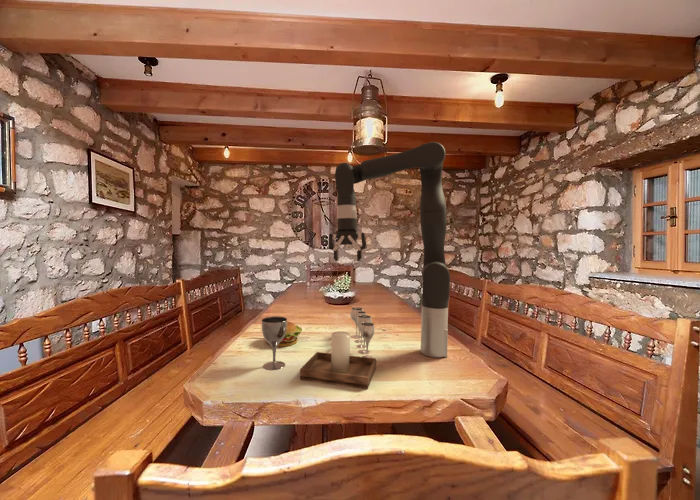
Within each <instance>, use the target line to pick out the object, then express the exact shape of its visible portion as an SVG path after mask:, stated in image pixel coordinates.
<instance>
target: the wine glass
mask: <svg viewBox="0 0 700 500" xmlns="http://www.w3.org/2000/svg"><path fill="white" fill-rule="evenodd" d="M287 321H288V318H287V317H286V316H279V315H277V316H275V315H273V316H267V317H264V318H262V319H261V332H262V336H263V339H264V340H265V341H266V342H267V343H269V344H270V345H269V344H268V345H269V346H270V347H271V350H272V361H268V362H267V361H266V362H265V363H263V365H262V369H264V370H266V371H278V370H281V369H283V368H285V367H286V363H285V362H284V361H281V360H277V359H276V353H277V348H278V347H277V346H278V344H279V343H280V342H281V341H282V339H283V338H284V337H285V334H286V329H287Z"/></svg>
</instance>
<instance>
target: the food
mask: <svg viewBox="0 0 700 500" xmlns="http://www.w3.org/2000/svg"><path fill="white" fill-rule="evenodd" d="M302 332H303V329H302V327H299V326H298V325H296V323H293V322H291V321H288V320H287V329H286V334H285V337H284V338H283V339H282V341H281V342H280V343H279V344H278V346H277V348H278V347H280V348H281V347H289V346H293V345H295V344H297V342H298V339H299V336H300V335H301V333H302ZM267 343H268V342H267ZM268 345H269V346H271V345H270V344H269V343H268Z"/></svg>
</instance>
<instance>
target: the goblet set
mask: <svg viewBox="0 0 700 500" xmlns="http://www.w3.org/2000/svg"><path fill="white" fill-rule="evenodd" d="M349 315H350V319H351V320H352V321H353V322H354V324H355V328H356V331H355V333H356V334H354V335H350V338H352V339H355V340H353V341H354V343H355V344H357V345H356V348H357V349H359V350H358V351H357V353H358V355H359V354H360V355H362V356H361V357H367V358H374V357H373V356H371V355H370V353H371V351H370V350H369V344H370V341H371V340H372V339H373V336H374V335H375V324H374V323H372V321H373V320H372V316H371V315H368V314H367V312H366V311H364V309H363V307H352V308H351V310H350V314H349Z"/></svg>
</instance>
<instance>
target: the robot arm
mask: <svg viewBox="0 0 700 500" xmlns="http://www.w3.org/2000/svg"><path fill="white" fill-rule="evenodd" d="M445 159H446V149H445V147H444V146H443V145H442V144H441V142H437V141H430V142H429V141H428V142H427V143H424V144H421V145H419V146H416V147H414V148H411V149H408V150H404V151H402V152H398V153H394V154H389V155H385V156H381V157H376V158H371V159H365V160H362V162H361V163H360V164H356V165H351V164H350V163H347V162H341V163H339V164H338V165H337V166H336V168H335V169H334V170H335V171H334V181H335V186H336V193H337V196H336V197H337V198H336V201H337V203H336V204H337V206H336V207H337V209H336V226H337V227H336V228H337V229H336V230H337V231H336V233H329V234H328V250H331V251H332V252H333V260H334V261H335V262H338V261H339V258H340V257H339V249H340V248H341V247H342V246H345V245H346V246H347V245H350V246H352V245H353V246H354V247H355V248H356V250H357V251H356V260H357V262H359V261H361V260H362V259H363V255H362V253H363V252H362V251H363V250H365V249H367V237H366V236H367V235H366V232H361V233H358V211H357V198H356V197H357V196H356V191H355V189H354V187H355V184H360V183H361V182H364V181H368V180H372V179H378V178H382V177H383V178H384V177H386V176H390V175H392V174H395V173H398V172H401V171H404V170H407V169H408V170H409V169H414V168H415V169H417V168H419V174H420V182H421V187H420V189H421V190H420V200H419V201H420V203H419V220H420V230H421V237H422V238H421V239H422V244H423V262H422V263H423V265H422V271H421V273H422V294H421V318H420V319H421V321H420V353H421V354H423V355H424V356H427V357H429V358H430V357H431V358H443V357H444V358H447V357H448V346H449V345H448V343H449V342H448V340H449V337H448V336H449V330H448V325H449V324H448V323H449V319H448V318H449V301H450V288H451V287H450V286H451V273H450V271H449V268H448V267H447V265H446V257H445V256H446V255H445V243H446V235H447V224H448V223H447V222H448V219H447V204H446V197H445V194H444V191H443V183H442V180H443V165H444V162H445ZM336 239H337V240H338V241H337V242H336V244H335V241H334V240H336ZM357 239H360V240H361V245H360V244H359V242H358V241H357ZM334 244H335V245H334Z"/></svg>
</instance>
